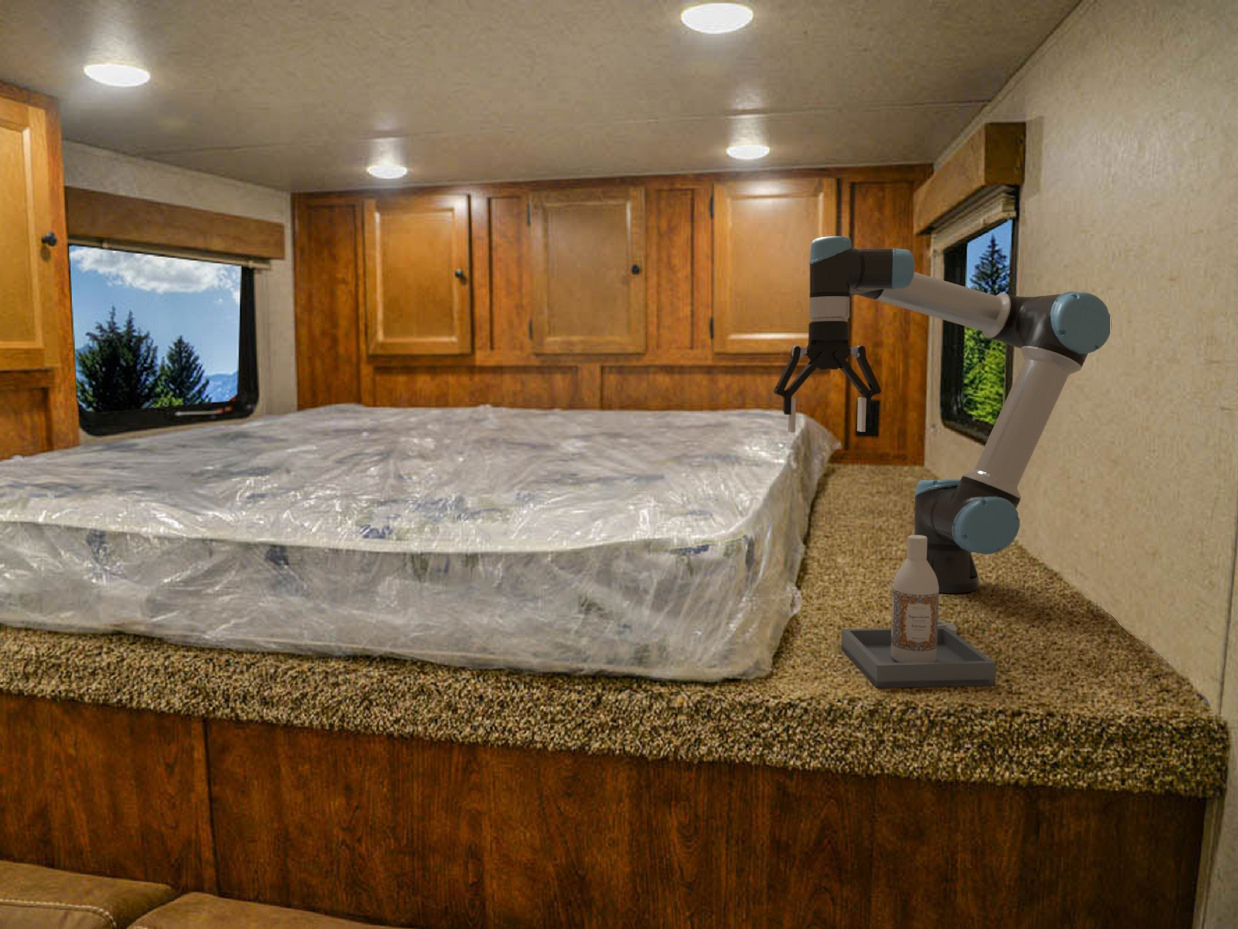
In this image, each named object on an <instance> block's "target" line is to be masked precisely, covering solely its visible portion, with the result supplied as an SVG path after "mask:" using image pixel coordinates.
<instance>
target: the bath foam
mask: <svg viewBox="0 0 1238 929" xmlns="http://www.w3.org/2000/svg"><path fill="white" fill-rule="evenodd" d="M906 547H907V548H906V550H907V551H906V555H907V556H906V559H905V560H904V561H903V563H902V564H901V566H900V568H898V570H897V572H896V574H895V575H894V579H893V584H892V596H891V597H892V598H891V600H892V603H891V627H890V628H891V657H892V658H893V659H894V660H895V661H897V662H899V663H907V662H935V661H936V654H937V630H938V619H939V603H940V602H939V601H940V600H939V598H940V597H939V596H940V592H939V586H938V580H937V577H936V575H935V573H934V571H933V569H932V568H931V566H930V564H929V563H928V561H927V559H926V558H927V537H926V536H922V535H914V534H912V535H908V536H907V546H906Z"/></svg>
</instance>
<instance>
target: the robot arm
mask: <svg viewBox="0 0 1238 929" xmlns="http://www.w3.org/2000/svg"><path fill="white" fill-rule="evenodd" d="M808 265H809V303H808V306H809V307H808V318H809V319H810V320H811V321H810V322H809V324H808V339H807V341H808V344H807V347H800V346H799V345H794V346H792V347H791V351H790V358H789V360H788V361H787V364H786V365H785V367H784V370H783V371H782V374H781V375H780V377H779V380H778V382H777V383H776V386H775V388H774V389H773V394H775V395H778V396H781V397H782V399H783V402H782V403H783V405H782V406H783V410H782V412H783V415H786V416H787V417H788V418H787V420H788V421H787V426H788V428H787V432H790V433H791V434H792V433H796V414H797V412H796V410H797V409H796V408H797V406H796V405H797V399H796V398H795V397H793V395H795V393H796V392H797V391H798V390H799V389H800V388H801V386H803V384H804V382H806V380H807V379H808V378H809V377H810V375H811V374H812V373H813V372H815V370H816V369H817V370H821V371H822V370H833V371H834V370H836V371H837V370H838V369H839V370H840V371H841V372H843V374H844V375H845V376H846V377H847V378H848V380H849V381H850V382H851V383H852V385H853V386H854V387H855V388H856V390H857V391H858V392H859V393H860V395H862V397H860V396H859V397H857V414H856V415H857V422H856V424H857V425H856V427H857V428H856V431H857V432H861V433H863V432H866V420H867V418H866V417H867V415H870V414H871V412H872V398H873V397H874V396H875V395H878V394H879V395H880V394H881V393H882V389H881V386H880V385H879V382H878V380H877V378H876V376H875V374H874V372H873V371H874V370H873V369H872V366H871V365H870V362H869V360H868V359H867V354H866V347H865V345H856V346H852V347H851V346H850V345H849V344H850V343H849V339H850V337H849V336H850V323H849V321H847V319H849V318H850V297H851V296H860V297H864V298H867V299H870V300H875V301H878V302H882V303H885V304H887V305H888V304H889V305H893V306H896V307H899V308H903V309H906V310H909V311H911V312H912V311H913V312H916V313H920V314H923V315H927V316H930V317H934V318H937V319H940V320H943V321H946V322H950V323H953V324H958V325H961V326H964V327H968V328H972V329H975V330H978V331H980V332H982V334H983V336H984V337H985V338H987V339H992V340H994V341H997V342H1000V343H1003V344H1006V345H1009V346H1012V347H1014V348H1017V349H1020V352H1021V354H1022V356H1023V362H1022V364H1021V366H1020V369H1019V371H1018V373H1017V375H1016V377H1015V379H1014V382H1013V384H1012V386H1011V388H1010V390H1009V392H1008V395H1007V397H1006V399H1005V401H1004V404H1003V406H1002V408H1001V410H1000V413H999V414H998V416H997V419H996V421H995V423H994V425H993V427H992V430H991V432H990V434H989V437H988V439H987V441H986V442H985V445H984V448H983V450H982V452H981V454H980V456H979V459H978V460H977V462H976V465H975V467H974V469H973V470H971V471H969V472H966V473H964V474H963V475H962V476H961V478H960V479H959V478H958V479H957V478H955V479H954V478H953V479H922V480H919V481H918V482H917V484H916V485H915V494H914V528H913V529H914V533H913V535H922V536H926V537H927V558H926V559H927V561H928V563H929V564H930V566H931V568H932V569H933V571H934V573H935V575H936V577H937V580H938V586H939V593H943V594H945V593H946V594H961V593H963V594H964V593H969V592H970V593H971V592H974V591H976V590H978V589H979V582H980V581H979V580H980V578H979V574H978V571H977V568H976V567H977V566H976V564H975V560H974V557H973V553H975V554H980V555H993V554H996V553H998V552H1002V551H1003V550H1005V549H1006V548H1007V547H1009V546H1010V545H1011V544H1012V543H1013V542H1014V540H1015V539H1016V537H1017V536H1018V533H1019V531H1020V530H1019V529H1020V526H1021V520H1020V518H1019V512H1018V510H1017V508H1018V506H1019V505H1020V504H1019V503H1020V502H1021V499H1022V497H1021V493H1020V492H1019V490H1018V487H1019V484H1020V482H1021V479H1022V478H1023V475H1024V473H1025V471H1026V468H1027V466H1028V464H1029V462H1030V460H1031V458H1032V456H1033V453H1034V452H1035V449H1036V447H1037V444H1038V443H1039V441H1040V439H1041V436H1042V434H1043V432H1044V430H1045V427H1046V425H1047V423H1048V421H1049V419H1050V416H1052V413H1053V410H1054V408H1055V406H1056V404H1057V401H1058V400H1059V397H1060V396H1061V393H1062V390H1063V388H1064V386H1065V384H1066V383H1067V381H1068V377H1069V376H1070V375H1071V374H1074V373H1076V372H1079V371H1081V369H1082V368H1083V365H1084V363H1085V361H1086V360H1087V357H1088V355H1089V354H1090V353H1091V354H1092V353H1093V352H1094V353H1095V352H1096V351H1097V350H1099V349H1101V348H1102V347H1103V346H1104V345H1105V343H1107V341H1108V340H1109V337H1110V335H1111V332H1110V316H1111V314H1110V313H1109V309H1108V307H1107V305H1106V303H1105V302H1104V301H1103V300H1102V299H1100V298H1099V297H1098V296H1096V295H1094V294H1093V293H1089V292H1086V291H1085V292H1084V291H1066V292H1063V293H1058V294H1048V295H1038V296H1020V295H1019V296H1018V295H1012V294H1010V293H1006V292H1000V293H998V294H996V295H994V294H992V293H991V294H990V293H988V292H987V293H986V292H984V291H980V290H976V289H974V288H971V287H967V286H963V285H960V284H956V283H953V282H950V281H945V280H943V279H940V278H936V277H933V276H930V275H926V274H923V273H919V272H917V271H915V268H916V267H915V266H916V265H915V258H914V255H913V253H912V252H911V251H910V250H908V249H906V248H905V249H904V248H903V249H902V248H895V247H893V248H855V247H853V245H852V240H851V238H850V237H848V236H840V235H838V236H837V235H831V236H829V235H828V236H821V237H817V238H815V239H813V241H812V242H811V245H810V253H809V262H808ZM804 355H806V356H807V357H808V359H809V362H807V363H806V365H805V366H804V368H803V369H802V371H801V372H799V374H798V375H797V376H796V377H795V378H794V380H793V381H792V382H791V383H790V384H789V381H790V379H791V377H792V376H793V373H794V372H795V369H796V367H797V365H798V363H799V361H800V359H802V358H803V357H804ZM850 355H852V357H853V358H855V359H856V361H857V364H858V366H859V368H860V371H861V372H862V375H863V378H864V380H865V382H866V383H865V382H864V381H863V380H862V379H861V378H860V377H859V375H858V373H856V372H855V370H854V369H853V367H852V366H851V364H850V363H849V362H848V361H847V359H848V358H849V357H850ZM788 384H789V386H788V387H787V385H788ZM866 384H867V385H866Z"/></svg>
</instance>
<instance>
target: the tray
mask: <svg viewBox="0 0 1238 929" xmlns="http://www.w3.org/2000/svg"><path fill="white" fill-rule="evenodd" d="M840 642H841V644H840V649H841V651H842V652H843V653H844V655H846V657H847V658H848V659H850V661H851V662H852V663H853V664H854V665H855V666H856V667H857V668H858V669H859V670H860V672H862V674H863V675H864V676H865V677H866V679H868V680H869V681H870V682H871V684H872V686H874V687H875V688H876V689H890V688H891V689H892V688H894V689H895V688H897V689H898V688H900V689H901V688H937V687H939V688H941V687H942V688H943V687H949V688H950V687H983V686H984V687H986V686H990V687H991V686H996V664H997V663H996V662H995V661H994V660H993V659H991V658H990V657H988V656H987V655H986V654H984V653H983V652H981V651H980V650H979V649H977V648H976V647H974V645H972V644H971V643H969V642H968V641H966V640H965V639H964V638H962V637H961V636H959V634H955V633H954V632H953V631H951V630H950V629H948V628H947V627H938V630H937V654H936V661H935V662H907V663H899V662H897V661H895V660H894V659H893V658H892V657H891V627H886V628H885V627H879V628H877V627H875V628H872V627H871V628H841V641H840Z"/></svg>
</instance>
